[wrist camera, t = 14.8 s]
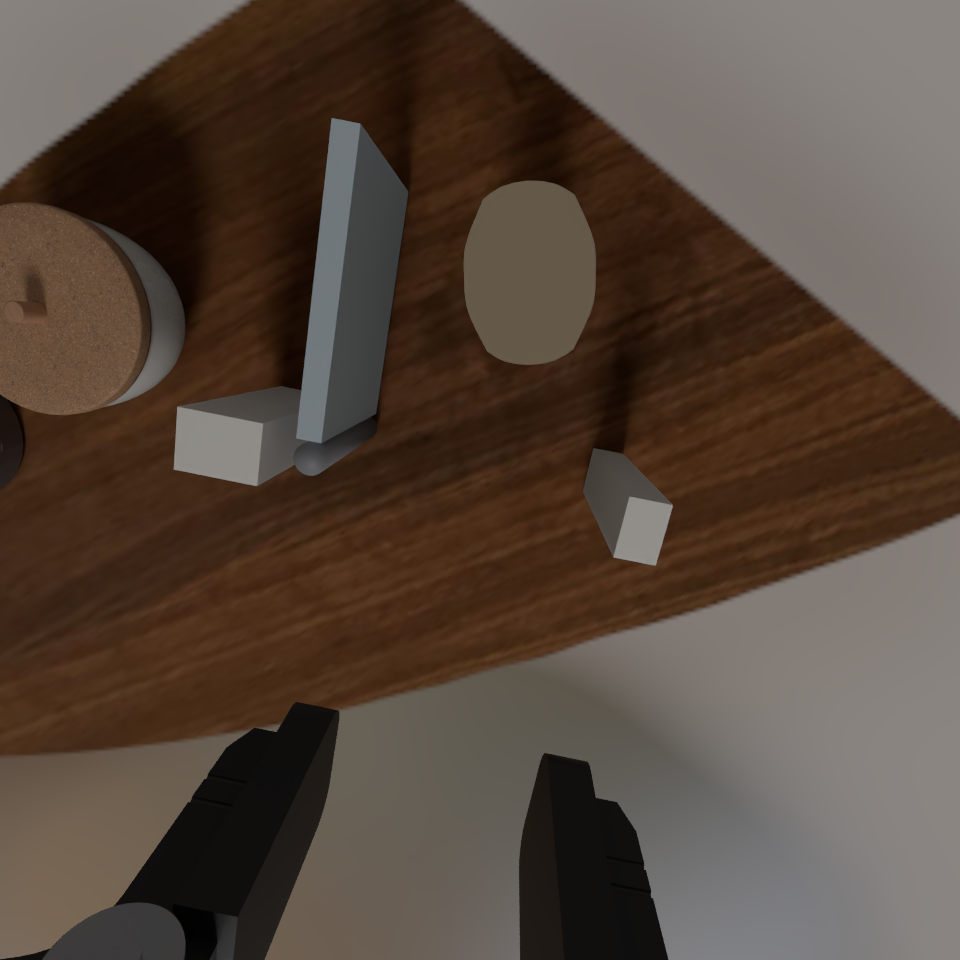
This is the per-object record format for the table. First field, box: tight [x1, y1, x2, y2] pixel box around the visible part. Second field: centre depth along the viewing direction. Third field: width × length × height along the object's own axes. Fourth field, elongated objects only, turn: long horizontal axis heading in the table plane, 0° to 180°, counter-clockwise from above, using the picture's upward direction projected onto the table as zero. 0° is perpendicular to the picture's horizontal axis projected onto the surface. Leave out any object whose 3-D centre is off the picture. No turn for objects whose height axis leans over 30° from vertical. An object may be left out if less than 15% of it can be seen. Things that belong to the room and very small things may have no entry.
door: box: [293, 118, 408, 476], centre depth 30 cm, size 15×2×11 cm, turn 169°
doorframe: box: [174, 386, 673, 566], centre depth 32 cm, size 23×3×12 cm, turn 79°
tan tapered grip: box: [464, 181, 596, 365], centre depth 28 cm, size 5×6×15 cm
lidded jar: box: [0, 202, 185, 415], centre depth 33 cm, size 11×11×9 cm
